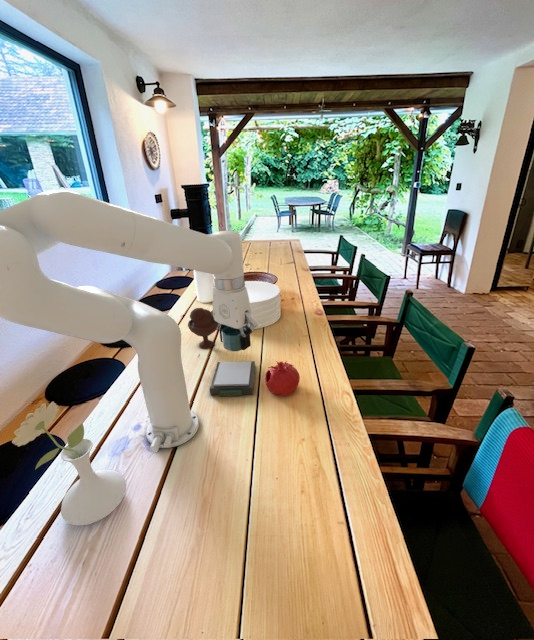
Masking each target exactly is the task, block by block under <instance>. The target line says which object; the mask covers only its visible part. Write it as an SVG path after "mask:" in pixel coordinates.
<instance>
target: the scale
mask: <svg viewBox="0 0 534 640" xmlns="http://www.w3.org/2000/svg"><path fill="white" fill-rule="evenodd" d="M255 374H256V361H255V360H248V361H245V360H243V361H242V360H241V361H217V362H216V366H215V370H214V372H213V377H212V380H211V383H210V386H209V393H210V394H209V395H210V396H220V397H221V396H225V397H226V396H227V397H228V396H253V395H254V385H255Z"/></svg>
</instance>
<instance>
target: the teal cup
mask: <svg viewBox="0 0 534 640" xmlns="http://www.w3.org/2000/svg"><path fill="white" fill-rule="evenodd" d="M243 329H244V331H246V328H245V326H244V327H243ZM221 332H222V341H223V342H222V347H223V349H224V350H226V351H229V352H240V351H243V350H242V349H241V342H240V337H241V336H242V335H241V333H240V331H239V329H235V328H232V327H229V326H227V327H224V328H223V329H222V331H221Z"/></svg>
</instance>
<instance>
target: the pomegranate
mask: <svg viewBox="0 0 534 640" xmlns="http://www.w3.org/2000/svg"><path fill="white" fill-rule="evenodd" d="M275 361H276V365H271V366H269V367H267V369H268V370H266V372H265V375H264V383H265V385H266V387H267V389H268V391H269V392H270V393H272V394H274V395H276V396H284V397H286V396H287V397H288V396H290V395H291V394H292V393H294V392H295V391H296V390H297V388H298V386H299V384H300V377H301V376H300V373H299V371H298V369H296V367H295V366H294V365H293V364H292V363H291V364H290V363H288V361H287V360H285V362H284V361H277V360H275Z"/></svg>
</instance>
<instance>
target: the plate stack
mask: <svg viewBox="0 0 534 640" xmlns="http://www.w3.org/2000/svg"><path fill="white" fill-rule="evenodd" d="M244 281H245V287H246V289H247V292H248V297H249V302H250V308H251V316H252V318H253V319H254V320H255V321H256V323H257V324H258V326H257V327H256V328H255V330H256V329H261V328H266V327H268V326H271V325H273V324H275V323H276V322H277V321H279V320H280V318H281V313H282V312H281V289H280V287H279V286H278V285H276V284H274V283H272V282H267V281H261V280H244ZM248 324H249V323H248ZM249 326H250V325H249Z"/></svg>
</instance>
